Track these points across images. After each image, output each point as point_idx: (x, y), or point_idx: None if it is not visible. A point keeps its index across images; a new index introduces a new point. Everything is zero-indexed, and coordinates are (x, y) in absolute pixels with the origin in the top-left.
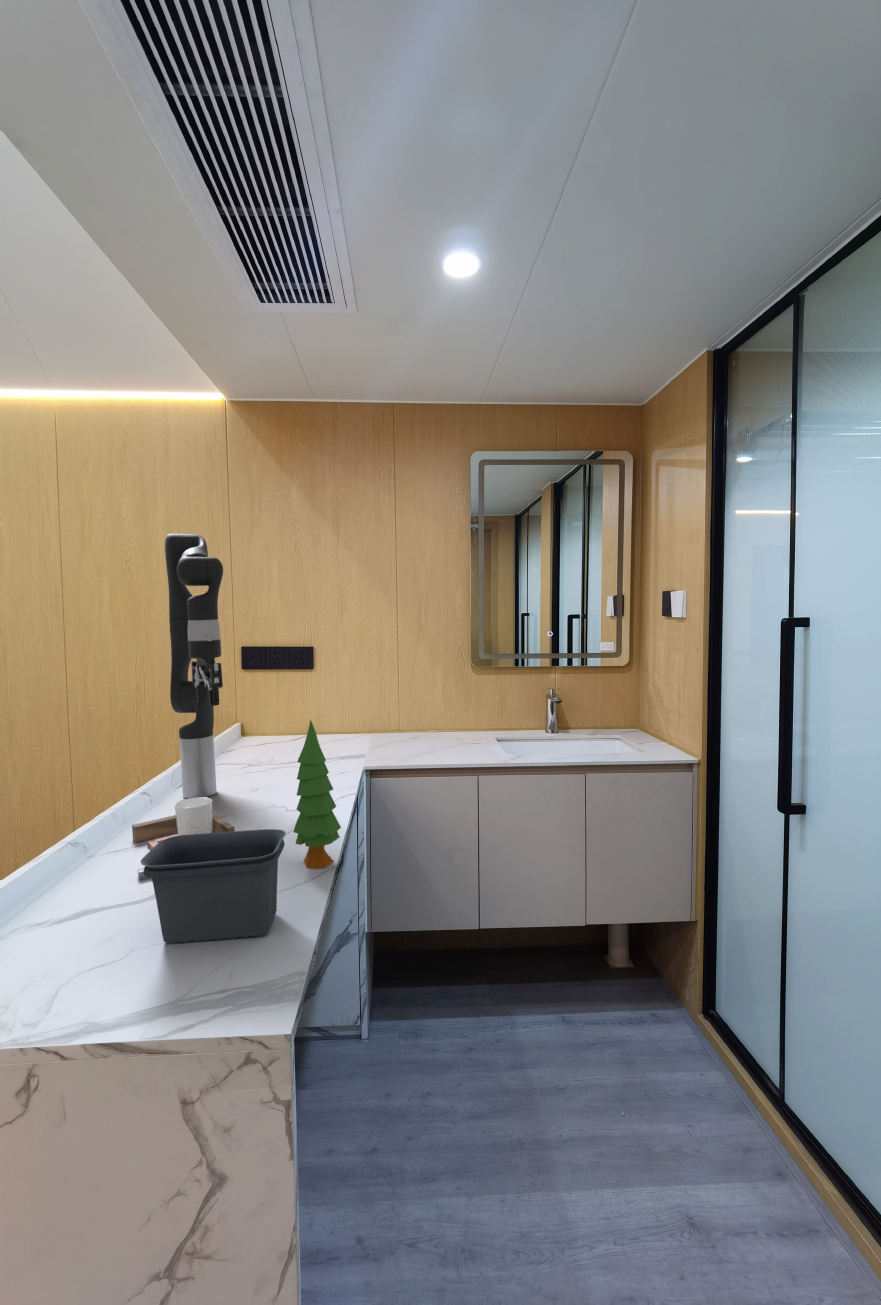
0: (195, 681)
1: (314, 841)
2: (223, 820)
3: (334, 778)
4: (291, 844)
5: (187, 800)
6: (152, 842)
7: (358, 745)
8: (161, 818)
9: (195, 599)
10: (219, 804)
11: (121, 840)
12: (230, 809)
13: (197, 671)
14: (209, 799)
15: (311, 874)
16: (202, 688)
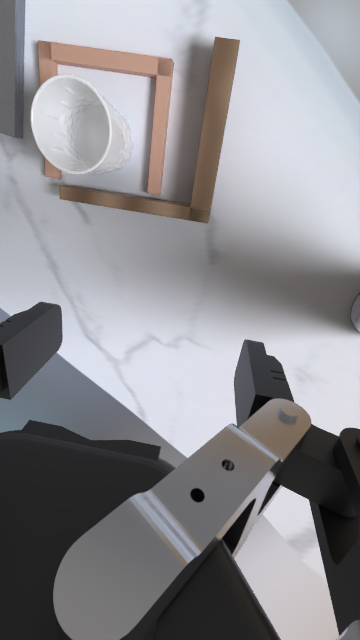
0: (292, 440)
1: None
2: (106, 205)
3: None
4: (8, 249)
5: (109, 131)
6: (157, 65)
7: None
8: (223, 120)
9: None
10: (286, 294)
11: (262, 33)
12: (240, 289)
13: (117, 515)
14: (74, 171)
15: None
16: (244, 420)
